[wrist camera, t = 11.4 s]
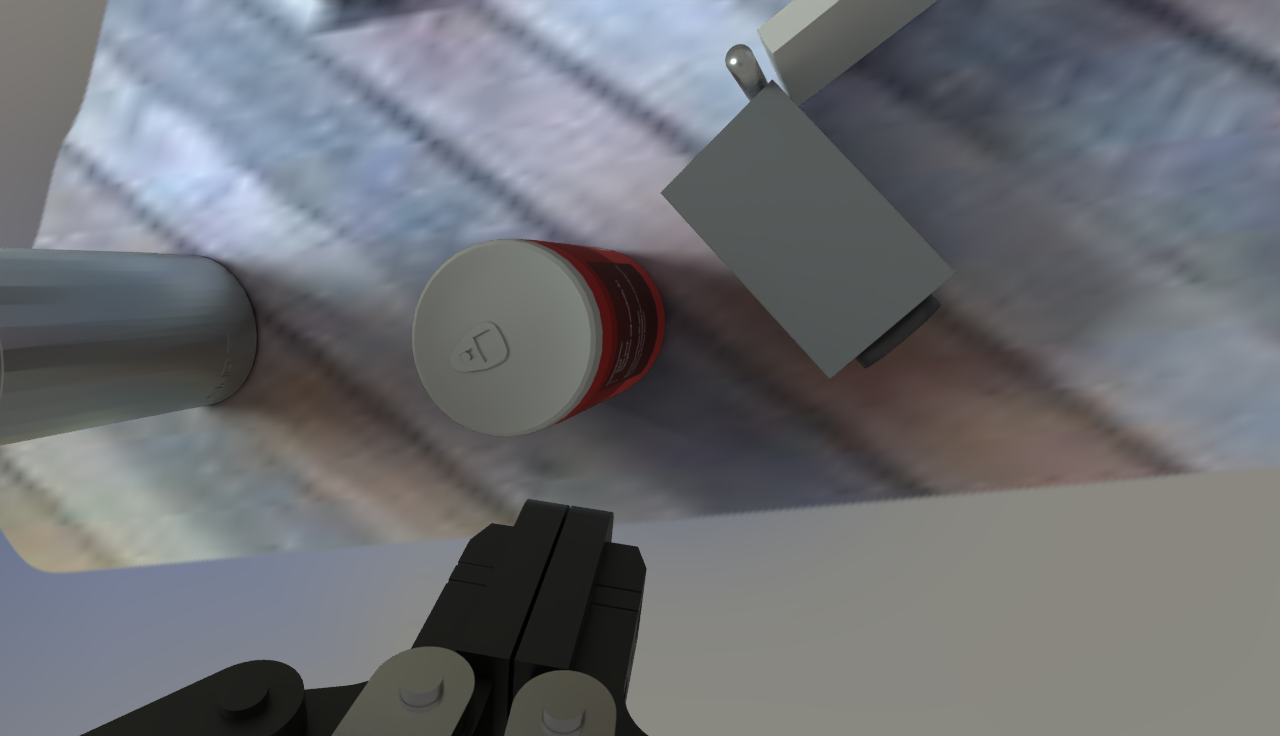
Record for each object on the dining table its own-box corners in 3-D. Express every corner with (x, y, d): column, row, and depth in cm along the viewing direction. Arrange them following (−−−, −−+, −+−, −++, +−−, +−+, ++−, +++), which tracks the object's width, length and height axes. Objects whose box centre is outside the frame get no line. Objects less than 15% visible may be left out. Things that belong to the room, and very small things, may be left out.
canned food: (499, 319, 41) (374, 334, 31) (601, 214, 39) (504, 191, 28) (591, 427, 40) (494, 480, 30) (701, 326, 38) (638, 346, 28)
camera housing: (679, 188, 38) (622, 161, 29) (771, 96, 36) (740, 38, 27) (848, 372, 36) (841, 403, 28) (951, 286, 35) (979, 290, 26)
